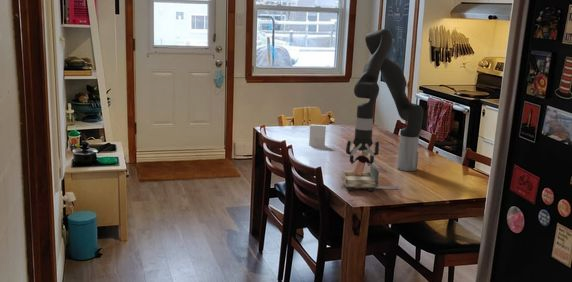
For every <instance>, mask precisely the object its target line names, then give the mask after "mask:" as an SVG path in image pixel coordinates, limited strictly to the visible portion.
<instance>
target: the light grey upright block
mask: <svg viewBox="0 0 572 282" xmlns="http://www.w3.org/2000/svg"><path fill="white" fill-rule="evenodd" d="M326 130H327V124H326V125H325V124H313V123H312V124H311V123H310V124H309V139H308V140H309V141H308V146H309V147H310V146H311V148H315V147H316V148H317V149H319V148H320V149H321V148H325V147H326V146H325V145H326V133H327V132H326Z"/></svg>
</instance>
